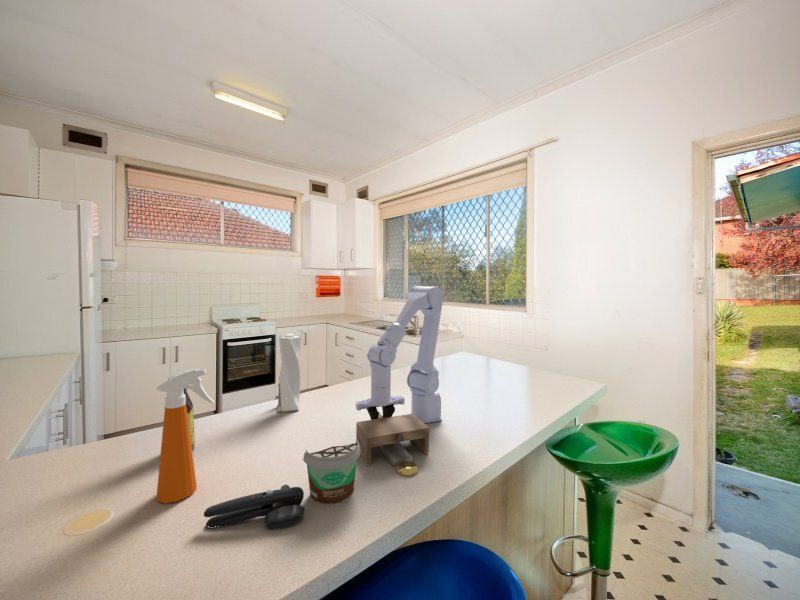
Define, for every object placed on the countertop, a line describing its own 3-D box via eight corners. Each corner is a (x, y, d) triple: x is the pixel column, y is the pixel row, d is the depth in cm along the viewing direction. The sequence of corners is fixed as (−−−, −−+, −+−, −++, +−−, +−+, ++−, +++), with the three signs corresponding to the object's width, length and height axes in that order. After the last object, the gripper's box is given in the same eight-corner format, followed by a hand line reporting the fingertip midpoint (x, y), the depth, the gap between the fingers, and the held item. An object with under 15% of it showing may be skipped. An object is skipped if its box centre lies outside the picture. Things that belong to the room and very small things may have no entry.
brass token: (413, 464, 84) (413, 459, 84) (420, 475, 79) (420, 470, 79) (394, 467, 82) (394, 462, 82) (400, 479, 77) (400, 474, 77)
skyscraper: (302, 403, 123) (302, 328, 122) (303, 411, 115) (303, 331, 114) (277, 405, 120) (277, 328, 119) (277, 414, 113) (276, 332, 111)
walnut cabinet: (412, 437, 98) (413, 413, 97) (429, 454, 88) (430, 428, 87) (356, 447, 91) (356, 422, 91) (367, 467, 81) (368, 439, 81)
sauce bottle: (200, 448, 89) (199, 375, 88) (178, 459, 83) (176, 381, 82) (182, 444, 91) (181, 372, 90) (159, 455, 86) (157, 378, 84)
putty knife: (382, 426, 104) (382, 411, 104) (412, 462, 84) (412, 443, 83) (366, 429, 102) (367, 413, 102) (393, 466, 82) (393, 446, 82)
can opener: (306, 503, 68) (306, 477, 68) (303, 528, 61) (303, 499, 61) (211, 514, 65) (211, 485, 64) (197, 541, 58) (196, 510, 58)
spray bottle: (211, 497, 69) (209, 372, 68) (150, 507, 66) (147, 375, 65) (219, 478, 76) (218, 364, 74) (164, 486, 73) (161, 366, 71)
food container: (309, 515, 64) (309, 464, 64) (302, 496, 70) (303, 450, 69) (368, 497, 70) (369, 450, 70) (358, 481, 76) (358, 438, 75)
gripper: (398, 379, 104) (397, 421, 105) (353, 383, 99) (352, 428, 99) (407, 385, 98) (406, 430, 99) (359, 391, 92) (359, 439, 93)
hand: (380, 430), depth 99 cm, fingers closed on putty knife, 2 cm apart
